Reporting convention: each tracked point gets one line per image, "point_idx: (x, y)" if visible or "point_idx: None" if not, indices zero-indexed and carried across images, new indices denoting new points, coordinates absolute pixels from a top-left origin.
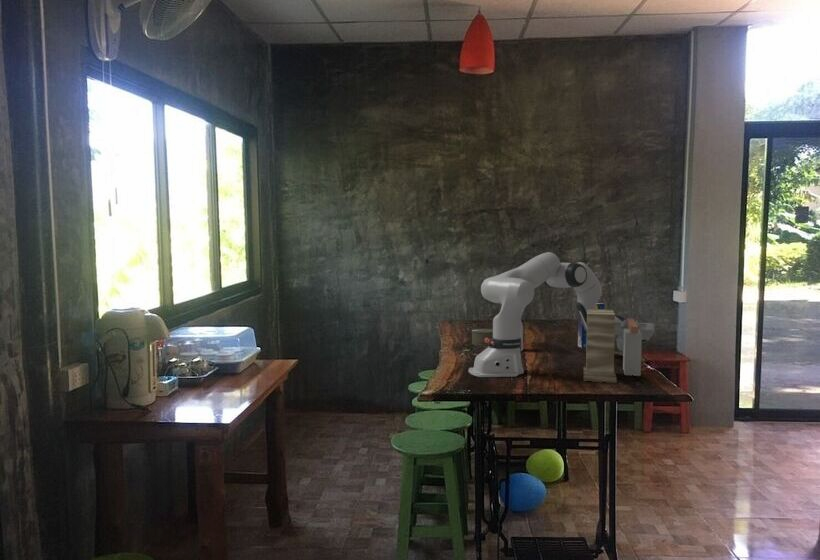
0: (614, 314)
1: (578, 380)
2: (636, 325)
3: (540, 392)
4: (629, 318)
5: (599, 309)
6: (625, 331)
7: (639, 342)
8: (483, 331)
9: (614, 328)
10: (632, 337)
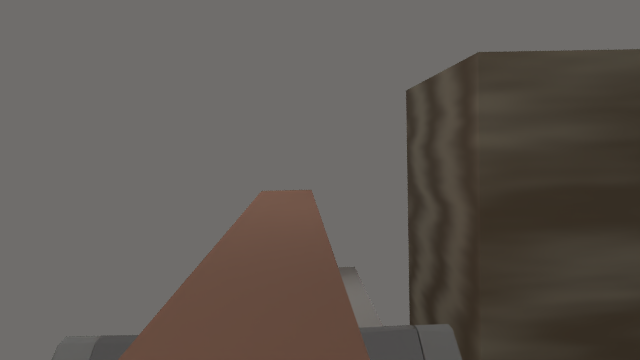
0: (411, 88)
1: None
2: (262, 197)
3: None
4: (269, 355)
5: (599, 51)
6: (361, 289)
7: None
8: None
9: (408, 167)
10: None
